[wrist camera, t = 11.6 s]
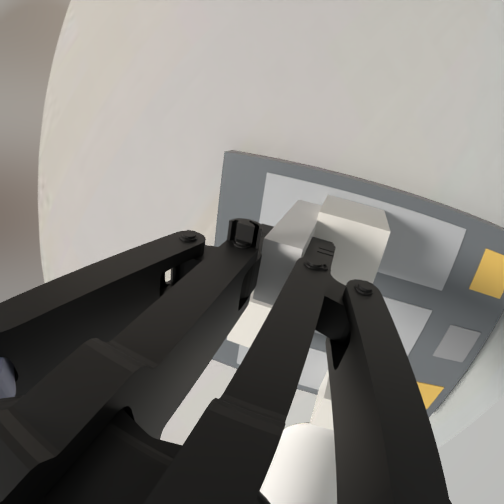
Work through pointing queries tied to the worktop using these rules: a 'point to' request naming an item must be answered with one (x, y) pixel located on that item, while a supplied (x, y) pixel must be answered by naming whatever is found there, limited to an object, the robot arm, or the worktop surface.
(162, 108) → the worktop surface
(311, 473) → the mug
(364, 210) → the white cube
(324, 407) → the off-white cube
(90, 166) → the worktop surface
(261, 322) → the cream cube block
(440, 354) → the switch bank
